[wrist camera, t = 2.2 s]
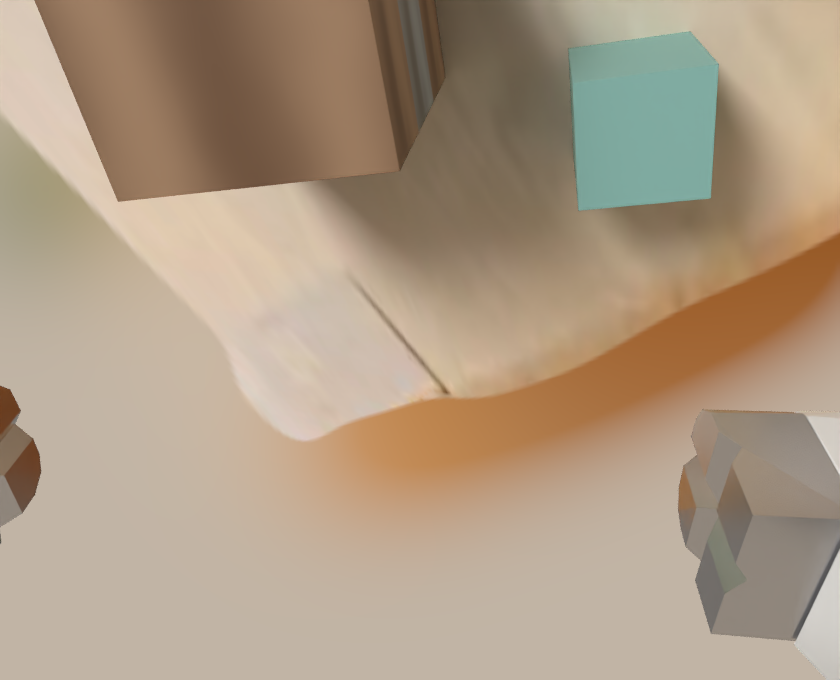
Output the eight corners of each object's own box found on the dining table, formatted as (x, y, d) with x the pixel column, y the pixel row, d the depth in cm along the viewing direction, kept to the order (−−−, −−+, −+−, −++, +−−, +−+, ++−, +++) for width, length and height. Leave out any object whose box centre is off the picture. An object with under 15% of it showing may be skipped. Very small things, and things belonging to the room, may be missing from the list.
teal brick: (689, 30, 30) (718, 64, 25) (685, 147, 32) (710, 198, 27) (568, 48, 31) (572, 83, 26) (573, 159, 33) (578, 210, 28)
